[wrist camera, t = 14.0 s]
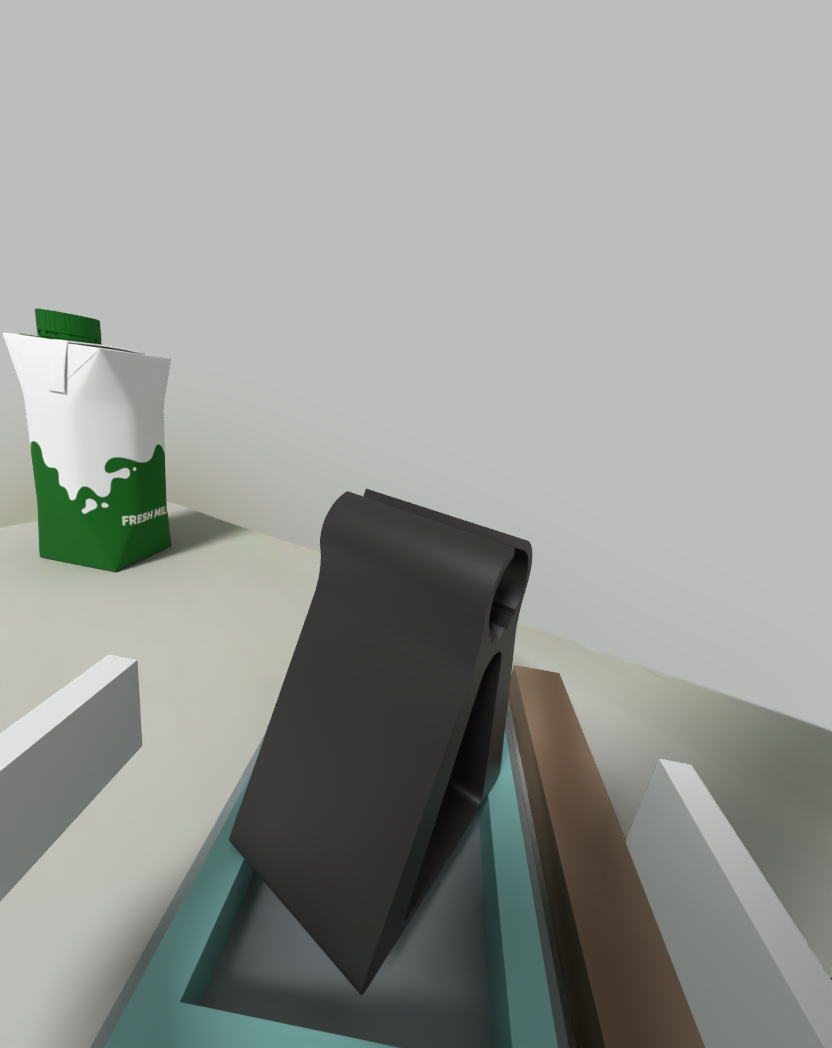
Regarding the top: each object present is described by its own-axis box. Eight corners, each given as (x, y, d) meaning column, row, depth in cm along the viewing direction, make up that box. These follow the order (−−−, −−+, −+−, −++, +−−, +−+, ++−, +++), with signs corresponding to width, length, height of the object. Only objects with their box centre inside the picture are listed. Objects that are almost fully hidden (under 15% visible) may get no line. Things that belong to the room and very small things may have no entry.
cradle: (505, 721, 25) (515, 686, 24) (624, 1412, 8) (668, 1364, 7) (296, 684, 26) (299, 648, 25) (-17, 1261, 8) (-39, 1201, 8)
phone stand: (392, 708, 21) (429, 479, 18) (499, 779, 18) (569, 519, 15) (228, 846, 14) (233, 506, 11) (357, 1003, 11) (428, 595, 7)
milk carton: (105, 529, 43) (89, 321, 38) (187, 544, 43) (183, 335, 37) (18, 559, 35) (-21, 297, 29) (118, 579, 34) (99, 315, 28)
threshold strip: (551, 698, 28) (559, 673, 27) (1016, 2059, 5) (1120, 2082, 4) (507, 690, 28) (513, 665, 27) (763, 1986, 5) (834, 2004, 5)
